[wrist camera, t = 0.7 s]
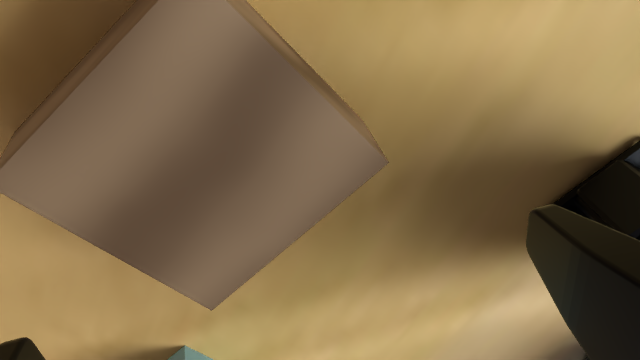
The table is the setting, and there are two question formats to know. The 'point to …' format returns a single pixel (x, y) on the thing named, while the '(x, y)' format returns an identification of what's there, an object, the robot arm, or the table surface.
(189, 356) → the teal cube
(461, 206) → the table surface
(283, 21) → the table surface
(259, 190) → the walnut block
